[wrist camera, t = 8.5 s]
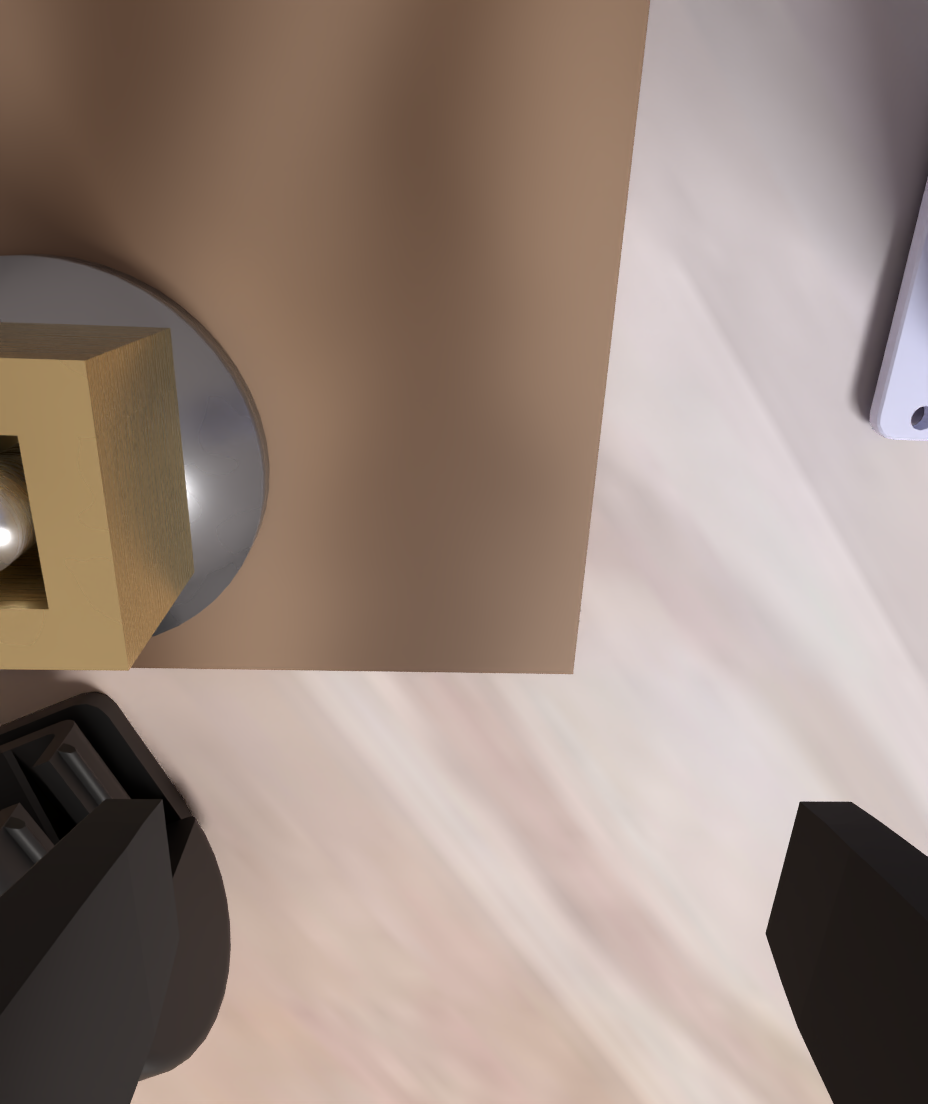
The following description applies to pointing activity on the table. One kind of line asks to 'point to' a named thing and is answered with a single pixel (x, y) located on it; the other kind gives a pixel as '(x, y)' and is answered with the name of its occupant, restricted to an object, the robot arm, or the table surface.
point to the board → (360, 289)
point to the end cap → (74, 792)
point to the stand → (204, 412)
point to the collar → (93, 493)
